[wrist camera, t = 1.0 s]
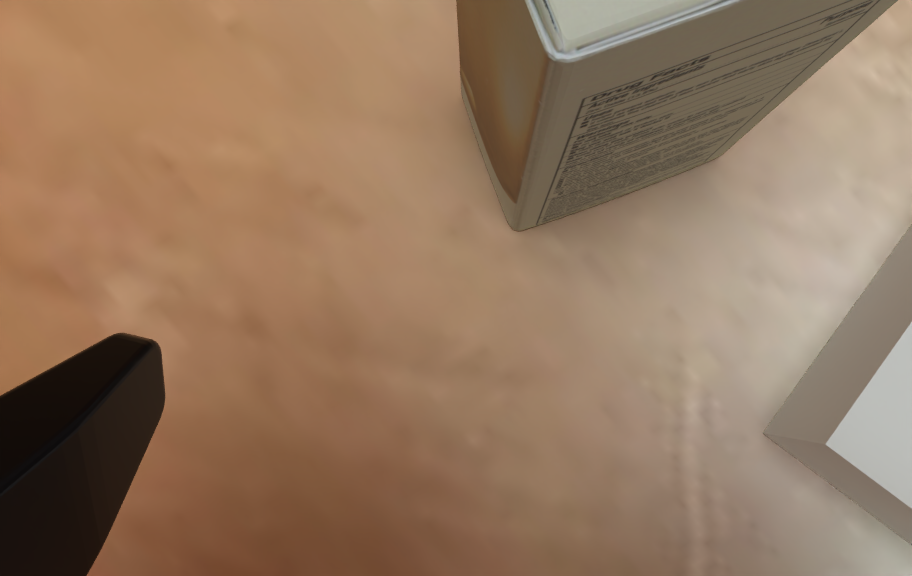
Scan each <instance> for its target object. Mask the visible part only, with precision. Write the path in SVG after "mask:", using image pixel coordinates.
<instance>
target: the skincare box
mask: <svg viewBox="0 0 912 576" xmlns="http://www.w3.org/2000/svg"><path fill="white" fill-rule="evenodd" d="M896 1H898V0H456V2H457V20H458V37H459V52H460V77H461V93H462V98H463V101H464V103H465V106H466V109H467V112H468V115H469V118H470V121H471V124H472V127H473V130H474V133H475V136H476V138H477V141H478V144H479V147H480V150H481V153H482V156H483V158H484V161H485V164H486V167H487V170H488V172H489V175H490V178H491V180H492V183H493V186H494V188H495V191H496V193H497V196H498V199H499V201H500V204H501V206H502V209H503V212H504V214H505V217H506V219H507V222H508V224H509V225H510V227H511V228H512V229H513V230H516V231H521V230H525V229H528V228H531V227H534V226H538V225H541V224H544V223H547V222H550V221H553V220H556V219H559V218H562V217H564V216H567V215H570V214H573V213H576V212H578V211H581V210H584V209H587V208H590V207H593V206H596V205H598V204H601V203H604V202H606V201H609V200H612V199H614V198H617V197H620V196H622V195H625V194H628V193H630V192H633V191H636V190H638V189H641V188H644V187H646V186H649V185H651V184H654V183H657V182H659V181H662V180H664V179H667V178H669V177H672V176H674V175H677V174H679V173H682V172H684V171H687V170H689V169H691V168H694V167H696V166H699V165H701V164H703V163H706V162H708V161H711V160H713V159H715V158H717V157H719V156H721V155H722V154H724V153H725V152H726V151H727V150H728V149H729V148H730V147H731V146H733V145H734V144H735V143H736V142H737V141H738V140H739V139H740V138H742V137H743V136H744V135H745V134H746V133H747V132H749V131H750V130H751V129H752V128H753V127H754V126H755V125H756V124H757V123H759V122H760V121H761V120H762V119H763V118H764V117H765V116H766V115H767V114H769V113H770V112H771V111H772V110H773V109H774V108H776V107H777V106H778V105H779V104H780V103H781V102H782V101H784V100H785V99H786V98H787V97H788V96H789V95H790V94H791V93H793V92H794V91H795V90H796V89H797V88H798V87H800V86H801V85H802V84H803V83H804V82H805V81H806V80H807V79H809V78H810V77H811V76H812V75H813V74H814V73H815V72H817V71H818V70H819V69H820V68H821V67H822V66H823V65H824V64H825V63H827V62H828V61H829V60H830V59H831V58H832V57H834V56H835V55H836V54H837V53H838V52H839V51H841V50H842V49H843V48H844V47H845V46H846V45H847V44H849V43H850V42H851V41H852V40H853V39H854V38H855V37H857V36H858V35H859V34H860V33H861V32H862V31H863V30H865V29H866V28H867V27H868V26H869V25H870V24H872V23H873V22H874V21H875V20H876V19H877V18H878V17H879V16H881V15H882V14H883V13H884V12H885V11H886V10H887V9H888V8H889V7H891V6H892V5H893V4H894V3H895V2H896Z"/></svg>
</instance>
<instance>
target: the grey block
mask: <svg viewBox="0 0 912 576" xmlns="http://www.w3.org/2000/svg"><path fill="white" fill-rule="evenodd" d="M763 434H764V435H766V436H767V437H768V438H770V439H771V440H772V441H774V442H775V443H776V444H778V445H779V446H780V447H782V448H783V449H784V450H786V451H787V452H788V453H790V454H791V455H792V456H794V457H795V458H796V459H798V460H799V461H800V462H802V463H803V464H804V465H806V466H807V467H808V468H810V469H811V470H812V471H814V472H815V473H816V474H818V475H819V476H820V477H822V478H823V479H824V480H826V481H827V482H828V483H830V484H831V485H832V486H834V487H835V488H836V489H838V490H839V491H840V492H842V493H843V494H844V495H846V496H847V497H848V498H850V499H851V500H852V501H854V502H855V503H856V504H858V505H859V506H860V507H862V508H863V509H864V510H866V511H867V512H868V513H870V514H871V515H872V516H874V517H875V518H876V519H878V520H879V521H880V522H882V523H883V524H884V525H886V526H887V527H888V528H890V529H891V530H892V531H894V532H895V533H896V534H898V535H899V536H900V537H902V538H903V539H904V540H906V541H907V542H908V543H910V544H911V545H912V224H911V226H910V227H909V228H908V230H907V231H906V233H905V234H904V236H903V237H902V238H901V240H900V241H899V243H898V244H897V245H896V247H895V248H894V250H893V251H892V252H891V254H890V255H889V257H888V258H887V259H886V261H885V262H884V264H883V265H882V266H881V268H880V269H879V271H878V272H877V273H876V275H875V276H874V278H873V279H872V280H871V282H870V283H869V285H868V286H867V287H866V289H865V290H864V292H863V293H862V294H861V296H860V297H859V299H858V300H857V301H856V303H855V304H854V306H853V307H852V308H851V310H850V311H849V313H848V314H847V315H846V317H845V318H844V320H843V321H842V322H841V324H840V325H839V327H838V328H837V329H836V331H835V332H834V334H833V335H832V336H831V338H830V339H829V341H828V342H827V343H826V345H825V346H824V348H823V349H822V350H821V352H820V353H819V355H818V356H817V357H816V359H815V360H814V362H813V363H812V364H811V366H810V367H809V369H808V370H807V371H806V373H805V374H804V376H803V377H802V378H801V380H800V381H799V383H798V384H797V385H796V387H795V388H794V390H793V391H792V392H791V394H790V395H789V397H788V398H787V399H786V401H785V402H784V404H783V405H782V406H781V408H780V409H779V411H778V412H777V413H776V415H775V416H774V418H773V419H772V420H771V422H770V423H769V425H768V426H767V427H766V429H765V430H764V432H763Z"/></svg>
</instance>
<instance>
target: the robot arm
mask: <svg viewBox="0 0 912 576" xmlns="http://www.w3.org/2000/svg"><path fill="white" fill-rule="evenodd" d="M164 404H165V387H164V376H163V365H162V354H161V349H160V346H159V345H158V343H157V342H156V341H154V340H152V339H148V338H143V337H139V336H135V335H131V334H127V333H117V334H114V335H111V336H109V337H107V338H105V339H104V340H102V341H100V342H98V343H96V344H94V345H93V346H91V347H89V348H87V349H85V350H83V351H82V352H80V353H78V354H76V355H74V356H72V357H71V358H69V359H67V360H65V361H63V362H61V363H60V364H58V365H56V366H54V367H52V368H50V369H49V370H47V371H45V372H43V373H41V374H39V375H38V376H36V377H34V378H32V379H30V380H28V381H27V382H25V383H23V384H21V385H19V386H17V387H15V388H14V389H12V390H10V391H8V392H6V393H4V394H3V395H1V396H0V576H86V575H87V574H88V572H89V570H90V569H91V567H92V565H93V563H94V561H95V559H96V558H97V556H98V554H99V552H100V550H101V549H102V547H103V544H104V542H105V540H106V538H107V536H108V534H109V532H110V530H111V528H112V525H113V523H114V521H115V519H116V516H117V514H118V512H119V510H120V508H121V505H122V503H123V501H124V499H125V496H126V494H127V492H128V490H129V487H130V485H131V483H132V481H133V478H134V476H135V474H136V472H137V469H138V467H139V465H140V463H141V461H142V458H143V456H144V454H145V452H146V449H147V447H148V445H149V443H150V440H151V438H152V436H153V434H154V431H155V429H156V427H157V425H158V422H159V420H160V418H161V415H162V412H163V408H164Z"/></svg>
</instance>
